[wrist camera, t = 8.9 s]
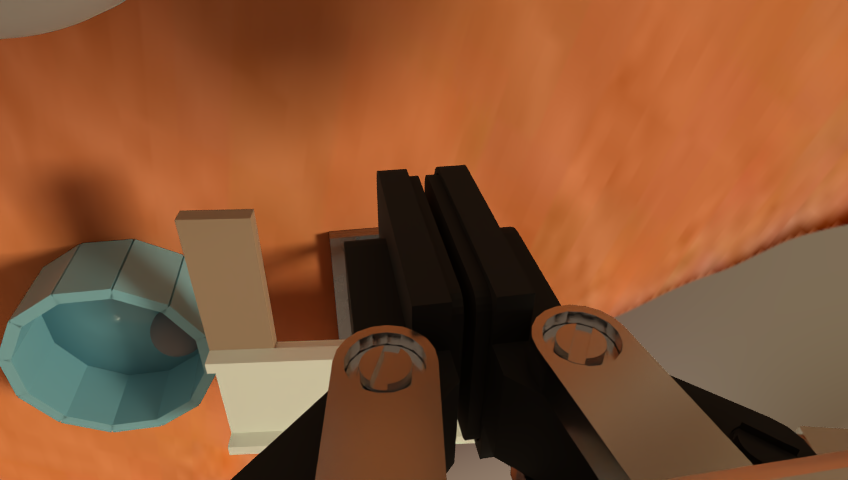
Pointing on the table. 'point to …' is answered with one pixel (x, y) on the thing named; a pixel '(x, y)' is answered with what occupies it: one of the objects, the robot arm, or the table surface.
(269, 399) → the lever
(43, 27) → the kettle
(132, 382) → the teal round bowl
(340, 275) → the lever stand
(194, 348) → the ball
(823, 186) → the table surface
